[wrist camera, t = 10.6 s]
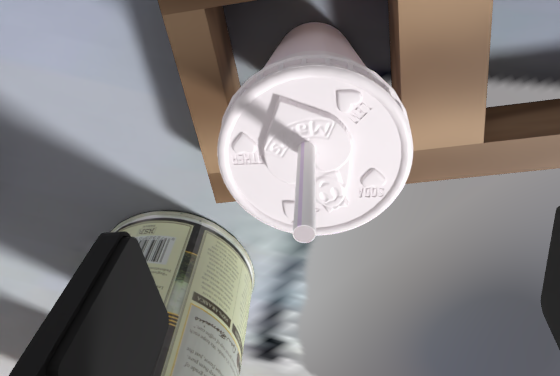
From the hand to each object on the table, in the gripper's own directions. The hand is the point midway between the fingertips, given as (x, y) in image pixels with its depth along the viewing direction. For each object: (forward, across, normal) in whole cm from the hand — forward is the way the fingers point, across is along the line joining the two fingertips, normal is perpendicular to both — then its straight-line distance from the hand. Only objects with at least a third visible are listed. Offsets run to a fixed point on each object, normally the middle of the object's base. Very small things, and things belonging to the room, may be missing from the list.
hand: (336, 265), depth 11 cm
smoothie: (+15, +1, 0) cm, 15 cm away
